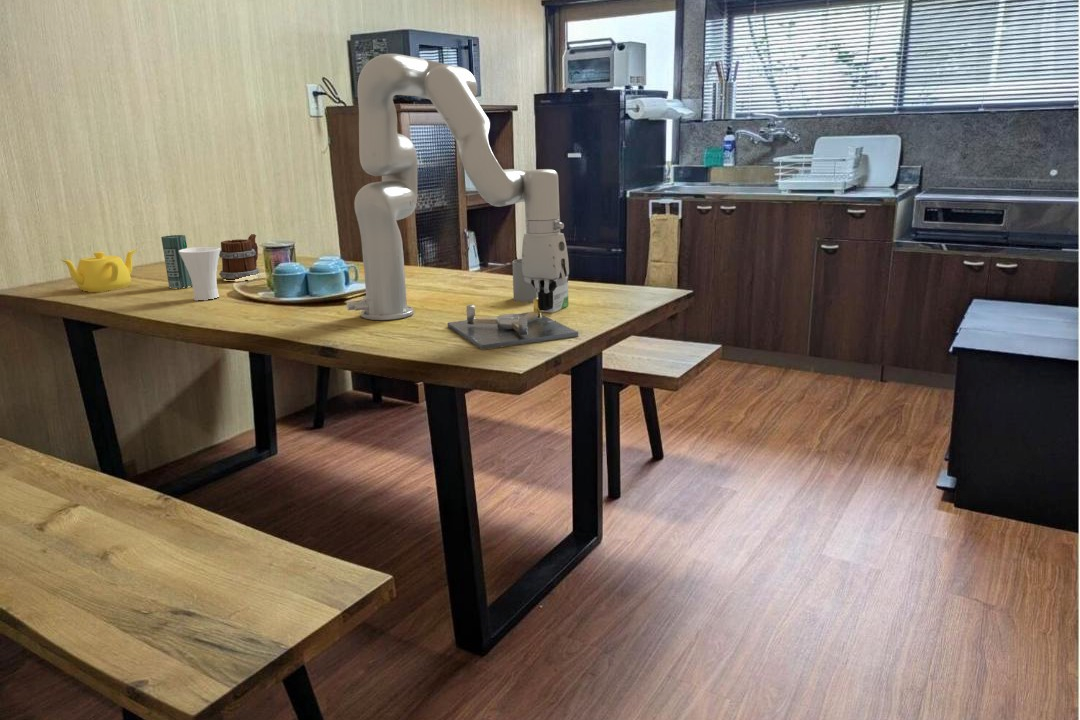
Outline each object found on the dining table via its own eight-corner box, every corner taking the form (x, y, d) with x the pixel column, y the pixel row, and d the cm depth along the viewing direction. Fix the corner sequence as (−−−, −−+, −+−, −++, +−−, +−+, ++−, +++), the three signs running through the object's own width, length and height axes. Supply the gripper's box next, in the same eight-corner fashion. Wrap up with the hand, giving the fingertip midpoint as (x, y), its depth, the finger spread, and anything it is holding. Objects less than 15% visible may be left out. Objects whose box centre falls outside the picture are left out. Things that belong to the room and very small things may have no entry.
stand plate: (482, 349, 159) (482, 344, 159) (447, 326, 178) (447, 321, 178) (578, 336, 168) (578, 330, 167) (535, 315, 187) (535, 310, 187)
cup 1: (221, 293, 222) (215, 245, 218) (231, 299, 213) (224, 249, 210) (182, 298, 216) (174, 249, 212) (190, 304, 208) (182, 253, 204)
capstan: (523, 336, 163) (522, 314, 162) (465, 324, 174) (464, 304, 173) (569, 322, 174) (569, 302, 173) (512, 312, 185) (512, 292, 184)
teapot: (82, 298, 219) (74, 259, 216) (56, 292, 228) (48, 255, 225) (157, 285, 236) (151, 249, 233) (130, 280, 245) (125, 245, 242)
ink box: (552, 304, 199) (551, 258, 196) (569, 306, 196) (569, 259, 193) (535, 311, 192) (534, 263, 188) (553, 313, 189) (552, 264, 186)
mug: (209, 281, 238) (208, 231, 236) (240, 281, 252) (240, 233, 250) (241, 283, 235) (241, 232, 233) (271, 282, 248) (271, 234, 246)
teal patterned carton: (196, 285, 234) (189, 235, 229) (183, 289, 228) (175, 237, 224) (179, 285, 235) (171, 234, 231) (165, 288, 229) (157, 237, 225)
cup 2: (541, 302, 202) (540, 263, 199) (510, 301, 203) (509, 263, 200) (547, 295, 209) (547, 258, 207) (518, 295, 211) (516, 258, 208)
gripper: (580, 226, 170) (583, 309, 175) (525, 224, 178) (529, 303, 184) (561, 230, 164) (564, 315, 169) (505, 228, 173) (509, 309, 178)
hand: (546, 309), depth 176 cm, fingers closed
